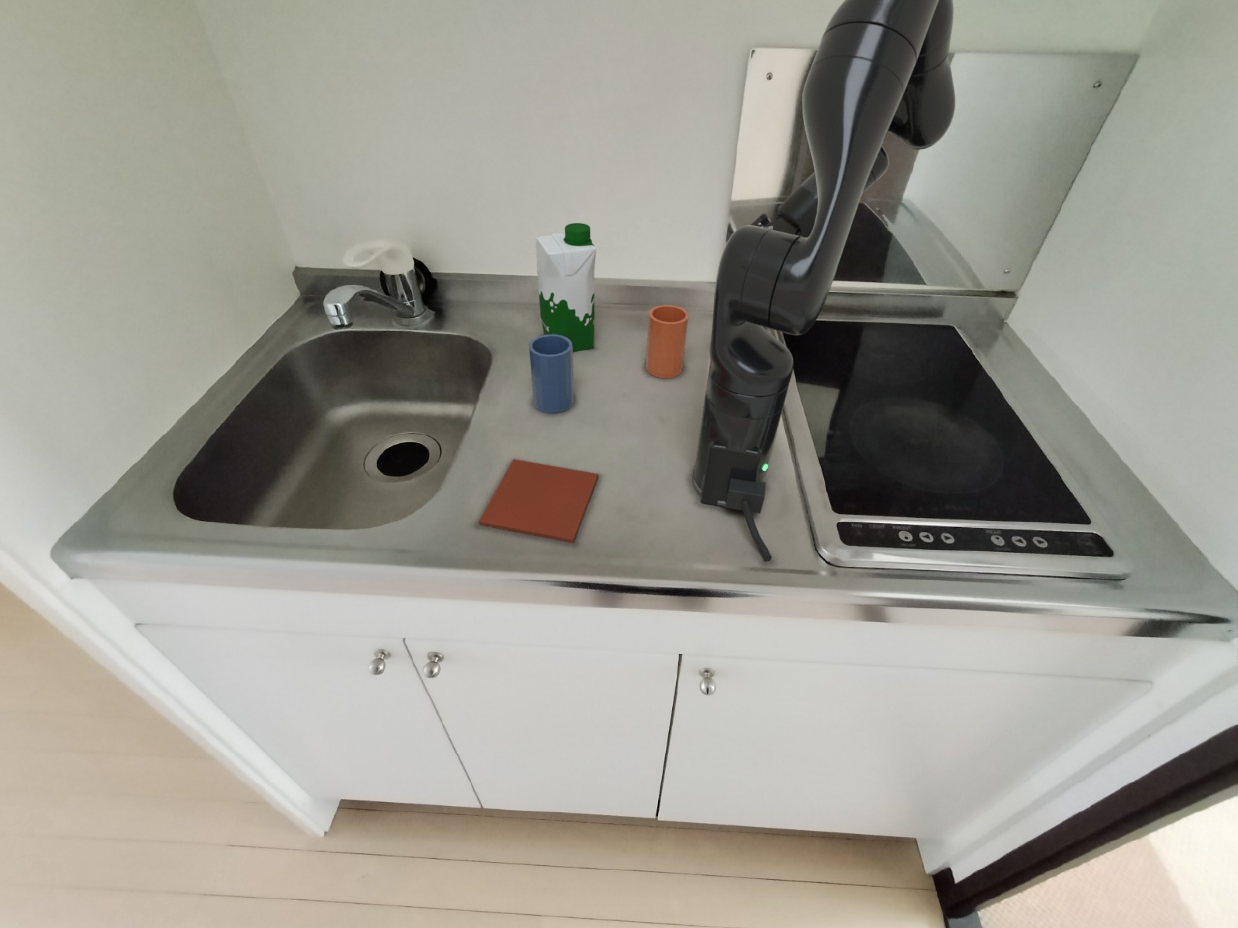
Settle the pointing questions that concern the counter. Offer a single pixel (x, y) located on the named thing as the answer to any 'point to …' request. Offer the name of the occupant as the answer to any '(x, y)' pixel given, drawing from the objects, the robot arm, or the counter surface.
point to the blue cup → (552, 373)
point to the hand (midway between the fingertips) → (734, 284)
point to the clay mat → (540, 500)
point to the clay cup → (666, 341)
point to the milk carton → (567, 284)
